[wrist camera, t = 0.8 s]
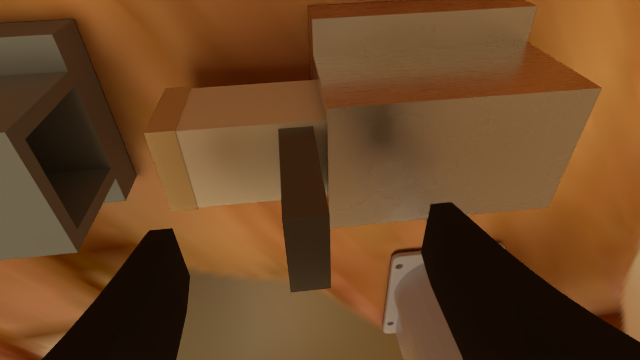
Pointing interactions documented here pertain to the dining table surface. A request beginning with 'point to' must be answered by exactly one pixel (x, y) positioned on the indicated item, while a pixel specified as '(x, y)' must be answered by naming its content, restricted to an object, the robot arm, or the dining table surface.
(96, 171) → the slate stepped block
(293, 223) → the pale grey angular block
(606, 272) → the dining table surface
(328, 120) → the beige stepped block
